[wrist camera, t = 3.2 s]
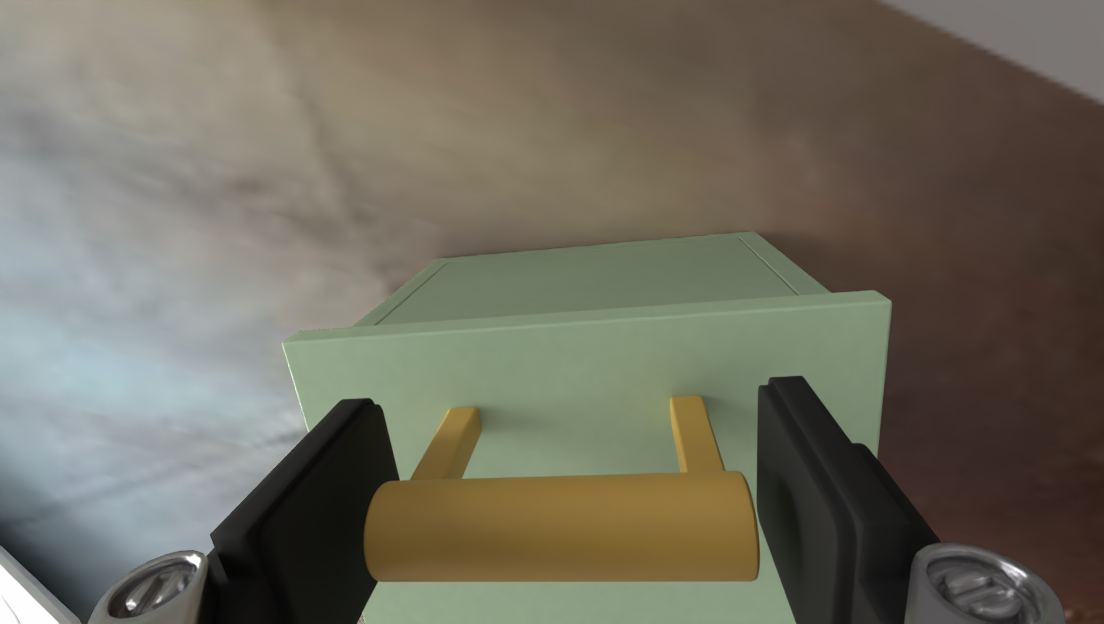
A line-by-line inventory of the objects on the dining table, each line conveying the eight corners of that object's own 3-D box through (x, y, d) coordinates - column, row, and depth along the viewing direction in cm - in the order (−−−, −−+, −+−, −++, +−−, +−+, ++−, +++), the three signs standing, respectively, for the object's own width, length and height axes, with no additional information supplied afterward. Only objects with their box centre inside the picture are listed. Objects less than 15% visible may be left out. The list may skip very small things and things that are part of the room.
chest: (435, 258, 23) (308, 359, 13) (754, 230, 21) (871, 323, 12) (487, 534, 28) (420, 754, 18) (752, 530, 26) (833, 773, 16)
